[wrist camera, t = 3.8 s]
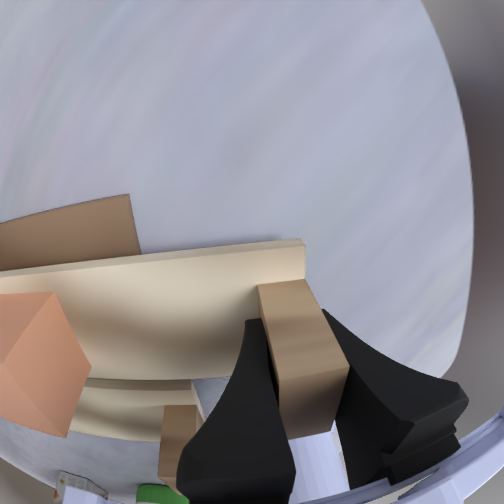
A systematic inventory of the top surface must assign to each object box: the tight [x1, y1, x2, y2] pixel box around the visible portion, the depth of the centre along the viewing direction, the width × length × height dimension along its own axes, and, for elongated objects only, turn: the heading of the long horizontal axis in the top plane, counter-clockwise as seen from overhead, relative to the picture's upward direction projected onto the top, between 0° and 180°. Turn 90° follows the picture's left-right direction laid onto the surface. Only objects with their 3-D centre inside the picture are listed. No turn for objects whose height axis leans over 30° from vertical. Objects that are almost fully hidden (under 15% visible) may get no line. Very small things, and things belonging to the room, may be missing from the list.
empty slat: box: [69, 378, 206, 495], centre depth 13 cm, size 7×20×6 cm, turn 94°
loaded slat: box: [0, 238, 350, 440], centre depth 10 cm, size 7×20×6 cm, turn 94°
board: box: [0, 194, 180, 381], centre depth 14 cm, size 18×22×1 cm
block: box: [0, 291, 92, 438], centre depth 9 cm, size 5×5×5 cm
